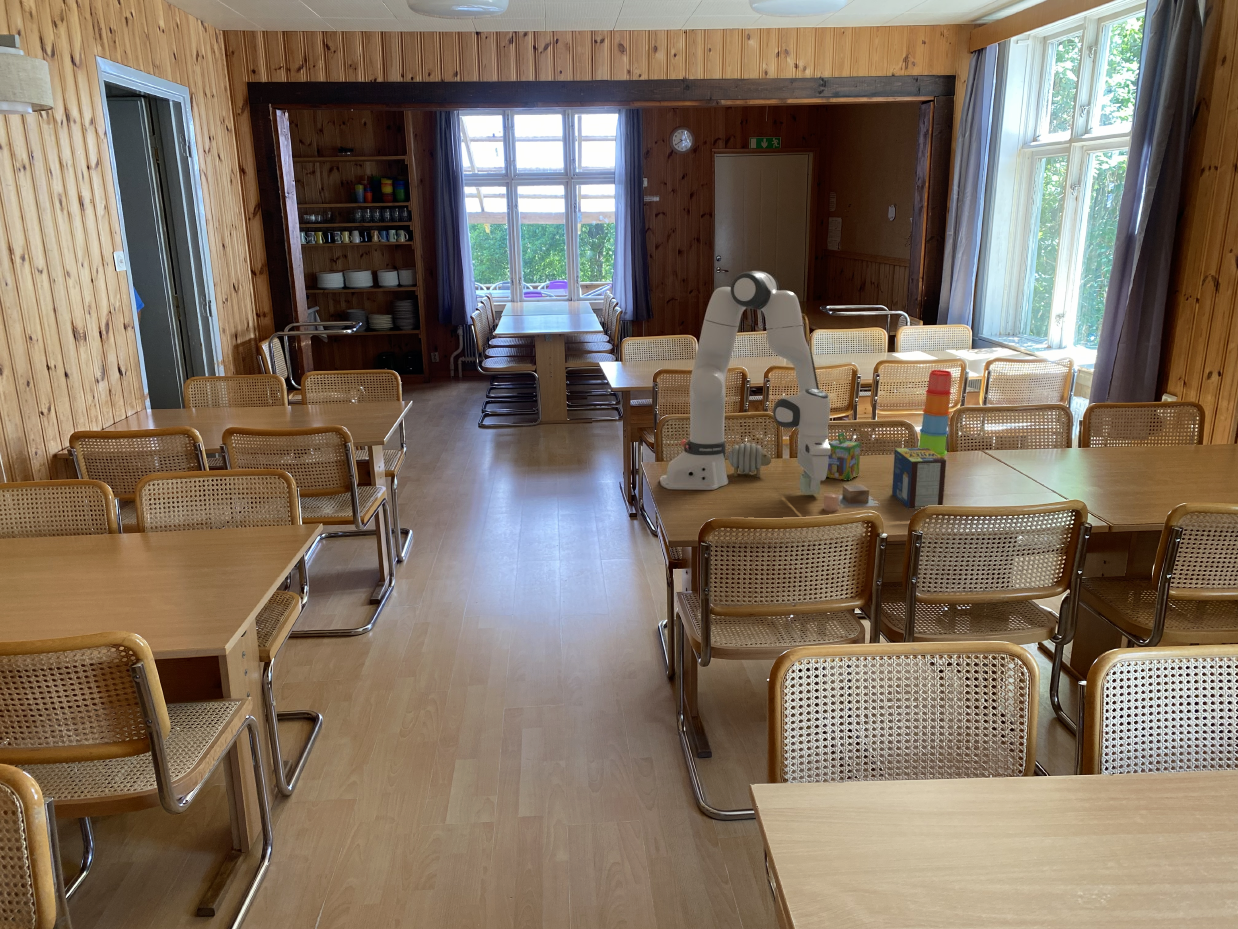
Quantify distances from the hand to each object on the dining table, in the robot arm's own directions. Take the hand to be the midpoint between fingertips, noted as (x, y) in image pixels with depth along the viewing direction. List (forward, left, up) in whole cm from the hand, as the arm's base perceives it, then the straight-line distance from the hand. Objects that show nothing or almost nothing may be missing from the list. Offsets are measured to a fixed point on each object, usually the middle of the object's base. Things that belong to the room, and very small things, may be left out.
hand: (809, 486), depth 278 cm
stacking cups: (+49, +23, -4) cm, 55 cm away
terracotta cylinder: (+2, -14, -4) cm, 14 cm away
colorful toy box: (+18, +22, -4) cm, 29 cm away
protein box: (+30, -10, -4) cm, 32 cm away
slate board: (+12, -7, -4) cm, 14 cm away
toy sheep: (-13, +29, -4) cm, 32 cm away
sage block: (0, 0, -2) cm, 2 cm away
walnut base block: (+12, -7, -3) cm, 14 cm away
